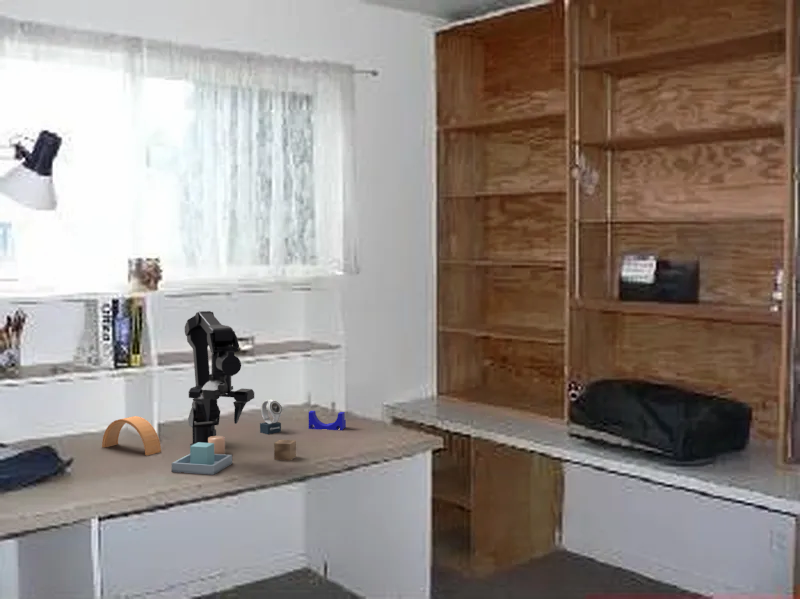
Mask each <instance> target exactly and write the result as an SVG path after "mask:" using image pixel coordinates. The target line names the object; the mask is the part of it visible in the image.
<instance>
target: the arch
mask: <svg viewBox="0 0 800 599" xmlns="http://www.w3.org/2000/svg"><path fill="white" fill-rule="evenodd" d="M126 424H127V425H130V426H131V427H133V428H134V429H135V431H136V432H137V433H138V434H139V437H140V438H141V441H142V444H143V448H144V455H145V456H146V457H147V456H151V455H155V454H158V453H162V447H161V441H160V437H159V436H158V433H157V432H156V430H155V428H154V426H153V425H152V424H151V422H149V421H148V420H146V418H143V417H142V416H135V415H134V416H130V417H129V416H128V417H125V418H119V419H116V420H113V421H112V422H110V424H109V425H108V426H107V427H106V429H105V430H104V432H103V433H104V434H103V435H102V441H101V447H102V448H104V449H105V448H109V447H113V446H117V445H119V436H120V433H121V431H122V428H123V427H124V425H126Z"/></svg>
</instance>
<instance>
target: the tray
mask: <svg viewBox="0 0 800 599" xmlns="http://www.w3.org/2000/svg"><path fill="white" fill-rule="evenodd" d="M232 464H233V454H226V453H225V454H214V464H213V465H205V464H190V453H189V454H187V455H185V456H183V457H180V458H179V459H177V460H175V461H173V462H171V472H172V473H181V472H184V474H197V475H198V474H200V475H209V476H210V475H212V476H213V475H216V474H217V473H219V472H220V471H222V470H224V469H226V468H228V467H229V466H231V465H232Z"/></svg>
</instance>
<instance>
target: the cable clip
mask: <svg viewBox="0 0 800 599" xmlns="http://www.w3.org/2000/svg"><path fill="white" fill-rule="evenodd" d="M345 418H346V416H345V411H339V412H338V413H337V418H336V420H335V421H334V422H330V423H324V422H322V421H321V420H320V419H319V418H318V417H317V414H316V410H309V412H308V430H322V429H327V431H344V430H345V429H346V428H347V427H346V426H347V423H346V419H345ZM339 428H340V430H338V429H339ZM344 428H345V429H344ZM343 429H344V430H343Z"/></svg>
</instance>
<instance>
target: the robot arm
mask: <svg viewBox="0 0 800 599" xmlns="http://www.w3.org/2000/svg"><path fill="white" fill-rule="evenodd" d="M184 334H185V336H186V341H187V343H188V344H189V345H190V347H191V348H192V352H193V353H192V354H193V365H194V368H193V369H194V379H195V380H194V381H195V386H193V387H191V388H190V389H189V390H188V398H189V399H192V403H191V409H190V411H189V415H188V418H187V423H188V426H189V427H190V428H192V432H191V433H192V435H191V436H192V442H191V443H189V447H190V446H192V445H194V444H196V443H198V442H202V443H208V437H211V436H217V429H215V428H216V426H219V424H220V417H221V410H220V407H219V405H218V400H219V398H220V397H223V398H233V399H234V401H232V404H233V407H234V419H233V420H234V421H233V422H234V424H237V423H238V422H239V420H240V418H241V415H242V412H243V411H244V408H245V407H246V404H247V403H248V402H250V401H252V400H254V399H255V391H254V390H253V388H240V389H237V390H234V385H232V377H234V376H235V375H237V374H239V372H240V371H241V368H242V362H241V360H240V359H239V358H238V356H236V355H235V352H236V353H237V352H239V348H240V343H239V341H238V338H237V334H236V332H235V331H234V329H233V328H232V327H231V326H229V325H226V324H225V325H224V324H222V323H220V321H219V320H218V319H217V318H216V317H215V315H214V311H211V310H205V311H204V310H203V311H200V310H199V311H198V312H196V313H195V315H193V316H191V317H190V318H188V319H187V320H186V322H185V325H184ZM209 350H210V353H211V355H210V356H211V373H210V362H209V361H210V360H209Z"/></svg>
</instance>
